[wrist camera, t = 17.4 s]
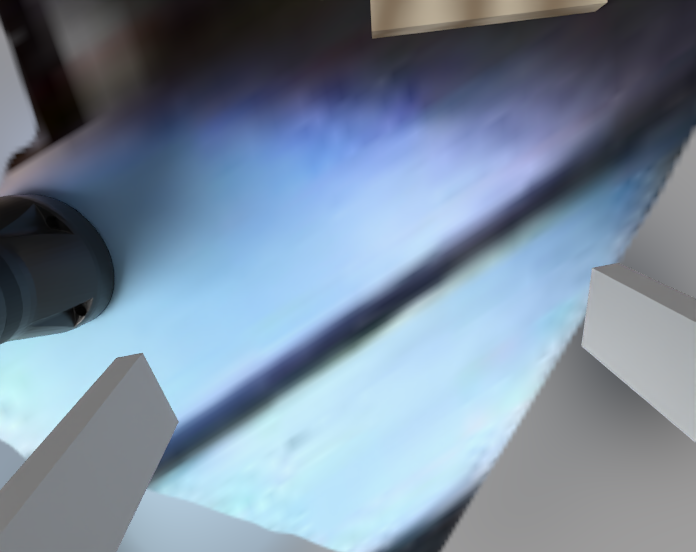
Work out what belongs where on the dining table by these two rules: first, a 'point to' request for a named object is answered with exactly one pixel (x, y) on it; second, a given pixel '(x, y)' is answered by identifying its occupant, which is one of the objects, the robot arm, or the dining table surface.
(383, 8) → the holder
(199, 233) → the dining table surface
